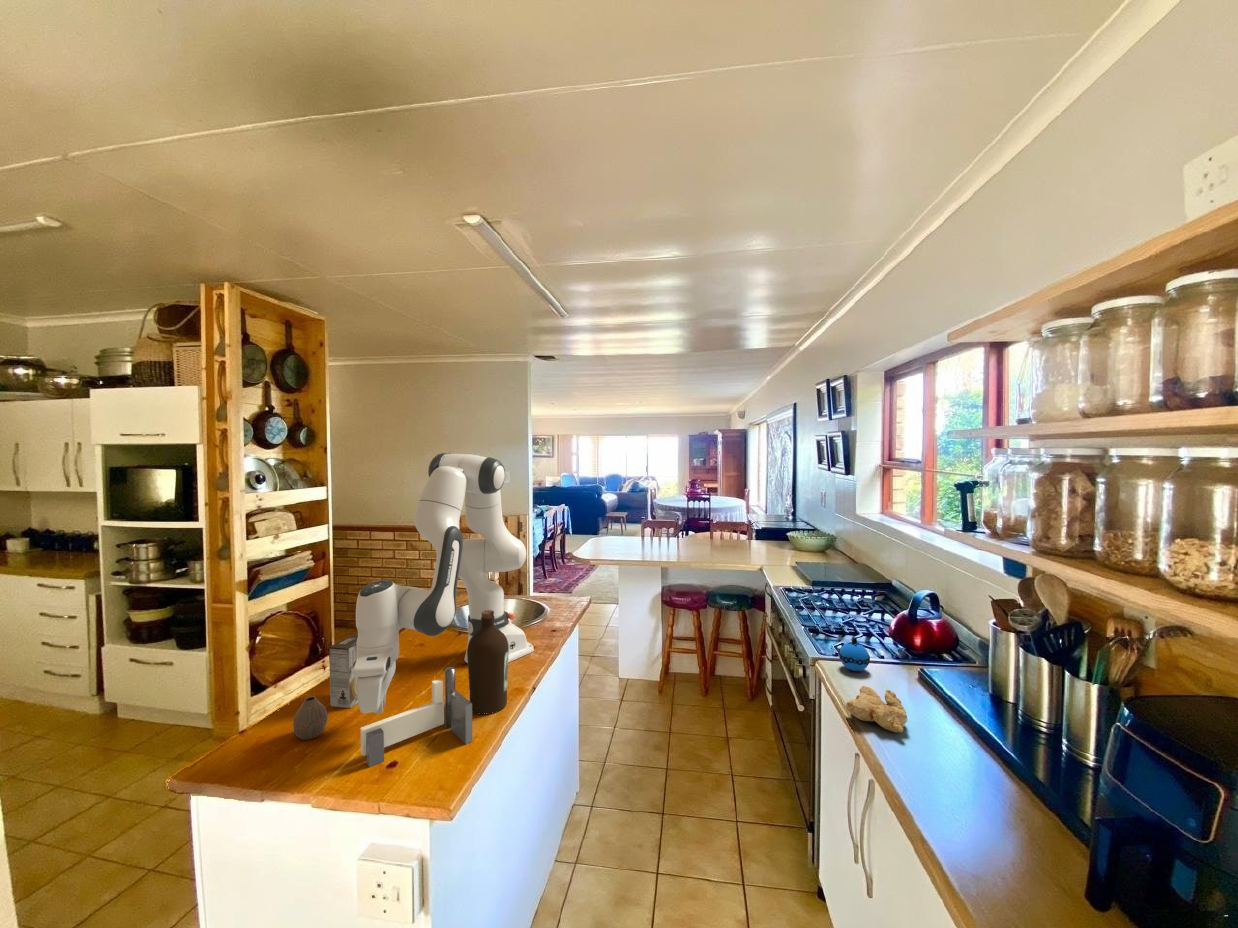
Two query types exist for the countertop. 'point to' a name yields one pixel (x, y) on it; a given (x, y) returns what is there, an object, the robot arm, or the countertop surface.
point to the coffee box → (343, 673)
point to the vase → (310, 719)
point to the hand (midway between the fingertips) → (379, 710)
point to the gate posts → (455, 718)
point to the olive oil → (488, 666)
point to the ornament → (854, 656)
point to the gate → (409, 720)
